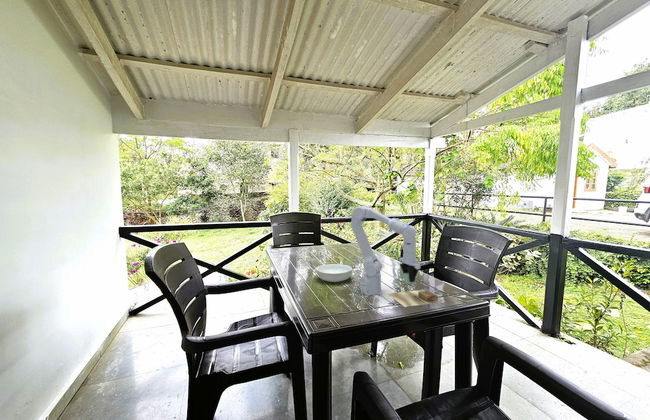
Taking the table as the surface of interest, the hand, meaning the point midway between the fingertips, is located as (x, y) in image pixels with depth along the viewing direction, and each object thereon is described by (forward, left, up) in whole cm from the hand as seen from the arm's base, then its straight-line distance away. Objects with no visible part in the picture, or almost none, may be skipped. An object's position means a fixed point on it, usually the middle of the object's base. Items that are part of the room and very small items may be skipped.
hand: (409, 280), depth 129 cm
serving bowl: (-26, +37, -9) cm, 46 cm away
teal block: (0, 0, -1) cm, 1 cm away
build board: (+2, -1, -9) cm, 9 cm away
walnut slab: (+7, -4, -8) cm, 11 cm away
